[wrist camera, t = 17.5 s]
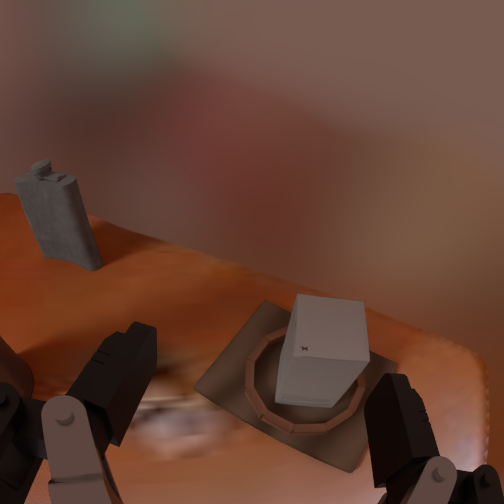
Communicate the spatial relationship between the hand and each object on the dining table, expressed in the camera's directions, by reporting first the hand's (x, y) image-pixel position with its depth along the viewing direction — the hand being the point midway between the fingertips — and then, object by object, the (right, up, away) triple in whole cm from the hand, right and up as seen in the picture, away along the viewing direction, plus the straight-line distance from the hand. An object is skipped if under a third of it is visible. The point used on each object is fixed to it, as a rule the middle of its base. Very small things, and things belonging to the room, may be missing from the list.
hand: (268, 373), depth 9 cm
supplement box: (+6, -12, +26) cm, 29 cm away
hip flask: (-35, +3, +41) cm, 54 cm away
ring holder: (+6, -13, +26) cm, 30 cm away
